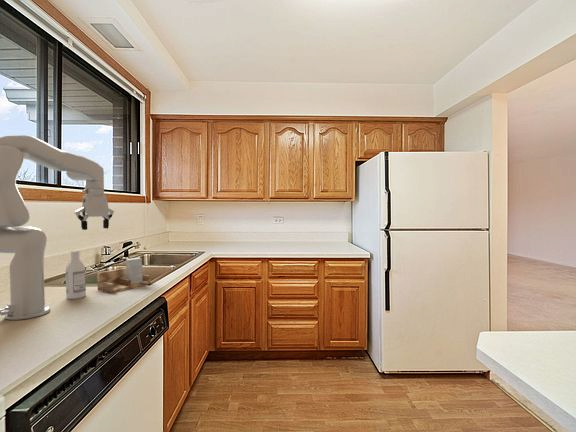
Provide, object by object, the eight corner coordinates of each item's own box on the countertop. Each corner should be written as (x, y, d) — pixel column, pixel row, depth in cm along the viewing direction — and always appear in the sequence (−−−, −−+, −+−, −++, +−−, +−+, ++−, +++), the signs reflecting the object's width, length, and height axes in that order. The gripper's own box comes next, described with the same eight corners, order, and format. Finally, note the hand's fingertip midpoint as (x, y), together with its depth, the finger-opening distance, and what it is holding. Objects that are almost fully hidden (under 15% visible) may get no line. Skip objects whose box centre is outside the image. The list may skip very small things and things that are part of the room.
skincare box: (138, 281, 159) (137, 257, 158) (142, 282, 156) (142, 258, 156) (126, 283, 154) (125, 259, 154) (130, 284, 151) (129, 260, 151)
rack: (111, 293, 141) (111, 275, 141) (97, 289, 147) (97, 272, 146) (150, 283, 159) (150, 267, 158) (136, 280, 164) (136, 265, 164)
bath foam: (89, 294, 139) (88, 249, 138) (78, 299, 132) (77, 251, 131) (73, 294, 139) (72, 249, 138) (62, 299, 132) (61, 251, 131)
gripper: (79, 191, 138) (80, 230, 139) (117, 192, 153) (118, 228, 154) (70, 191, 142) (71, 229, 142) (108, 193, 157) (109, 227, 157)
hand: (95, 229), depth 148 cm, fingers open, 9 cm apart
